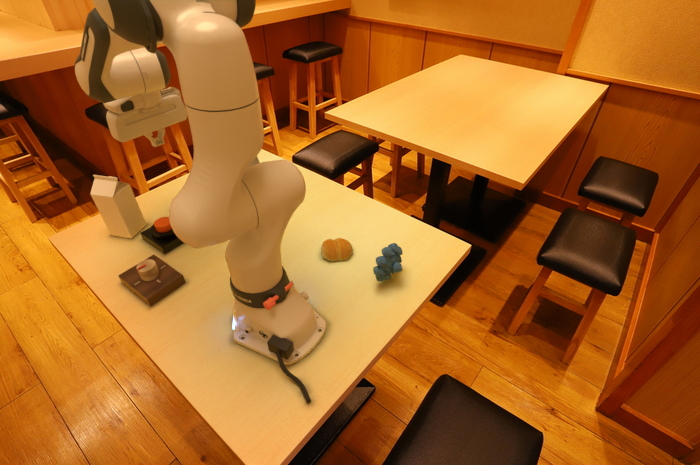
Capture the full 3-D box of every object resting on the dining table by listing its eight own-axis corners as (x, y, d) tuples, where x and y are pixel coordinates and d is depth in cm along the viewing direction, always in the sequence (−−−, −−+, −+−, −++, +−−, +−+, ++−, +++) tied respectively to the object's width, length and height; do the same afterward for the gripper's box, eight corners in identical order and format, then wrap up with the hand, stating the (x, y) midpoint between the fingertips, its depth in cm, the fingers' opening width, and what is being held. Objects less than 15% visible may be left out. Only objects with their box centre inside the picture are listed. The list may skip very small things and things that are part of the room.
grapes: (387, 299, 95) (391, 265, 87) (366, 286, 98) (368, 253, 91) (411, 273, 102) (417, 240, 94) (390, 262, 105) (394, 229, 98)
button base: (194, 236, 113) (190, 225, 110) (164, 254, 106) (159, 242, 103) (172, 223, 117) (168, 211, 115) (143, 239, 111) (137, 227, 108)
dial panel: (185, 282, 98) (182, 274, 96) (150, 306, 92) (146, 298, 90) (157, 262, 104) (153, 253, 102) (122, 283, 98) (117, 275, 96)
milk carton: (132, 239, 111) (107, 184, 99) (111, 235, 112) (83, 181, 100) (146, 224, 117) (124, 171, 105) (126, 221, 118) (102, 168, 106)
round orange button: (177, 226, 110) (175, 220, 108) (162, 234, 107) (160, 229, 105) (167, 220, 112) (165, 214, 110) (152, 228, 109) (150, 222, 107)
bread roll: (354, 260, 106) (354, 250, 103) (323, 263, 105) (322, 253, 102) (349, 241, 112) (350, 231, 109) (320, 244, 111) (319, 234, 108)
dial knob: (153, 266, 98) (148, 256, 96) (163, 274, 96) (158, 263, 94) (137, 276, 96) (132, 265, 93) (147, 283, 94) (141, 273, 91)
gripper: (170, 82, 103) (184, 129, 112) (95, 103, 91) (117, 155, 99) (184, 87, 101) (197, 135, 109) (109, 109, 88) (130, 162, 97)
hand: (158, 144), depth 104 cm, fingers closed
